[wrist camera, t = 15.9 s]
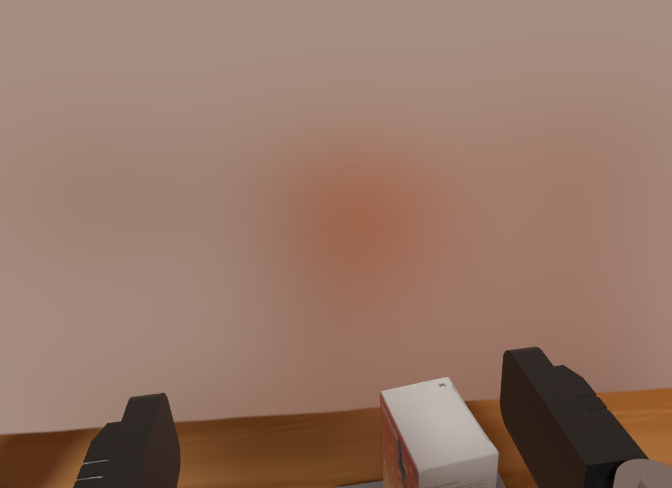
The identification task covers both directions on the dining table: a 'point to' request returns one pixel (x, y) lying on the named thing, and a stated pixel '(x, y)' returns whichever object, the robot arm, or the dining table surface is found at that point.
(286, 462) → the dining table surface
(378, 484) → the slate tile
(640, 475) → the robot arm
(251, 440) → the dining table surface
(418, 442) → the small box
